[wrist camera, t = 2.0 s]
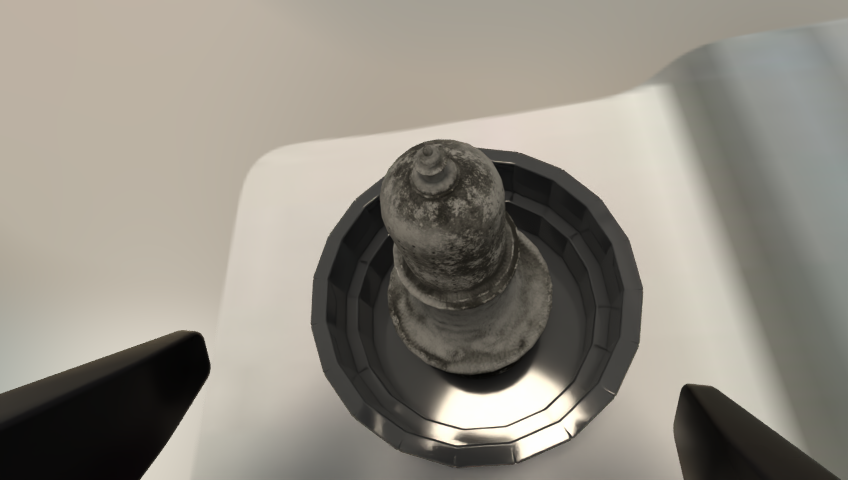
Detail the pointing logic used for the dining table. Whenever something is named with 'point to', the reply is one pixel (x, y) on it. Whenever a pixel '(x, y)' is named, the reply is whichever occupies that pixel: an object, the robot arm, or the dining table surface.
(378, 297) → the charcoal bowl
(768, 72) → the dining table surface
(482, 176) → the salt shaker
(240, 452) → the dining table surface
